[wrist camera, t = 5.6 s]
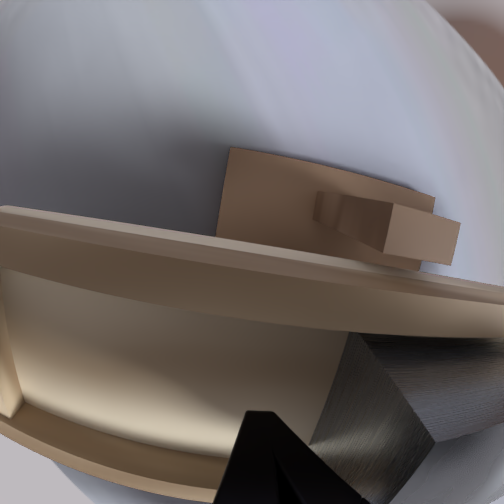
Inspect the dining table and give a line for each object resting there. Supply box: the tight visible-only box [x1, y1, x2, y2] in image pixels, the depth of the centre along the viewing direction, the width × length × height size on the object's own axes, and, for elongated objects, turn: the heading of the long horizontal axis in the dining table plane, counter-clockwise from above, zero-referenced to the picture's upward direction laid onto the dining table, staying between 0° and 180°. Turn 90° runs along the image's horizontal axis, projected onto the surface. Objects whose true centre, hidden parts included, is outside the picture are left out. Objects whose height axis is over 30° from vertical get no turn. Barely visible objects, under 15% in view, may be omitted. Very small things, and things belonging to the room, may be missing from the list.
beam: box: [0, 205, 504, 503], centre depth 8 cm, size 8×25×3 cm, turn 80°
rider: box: [308, 332, 504, 504], centre depth 6 cm, size 5×7×4 cm
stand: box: [215, 147, 461, 271], centre depth 11 cm, size 14×10×7 cm
